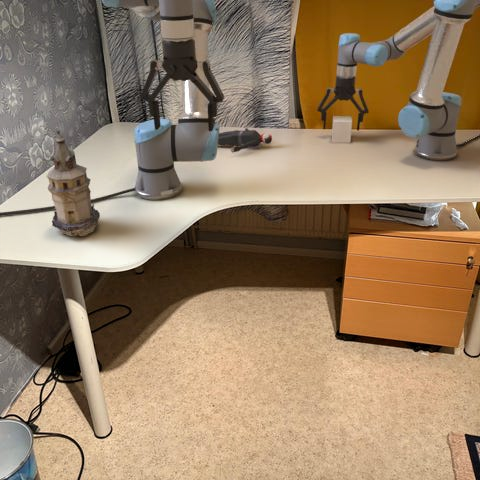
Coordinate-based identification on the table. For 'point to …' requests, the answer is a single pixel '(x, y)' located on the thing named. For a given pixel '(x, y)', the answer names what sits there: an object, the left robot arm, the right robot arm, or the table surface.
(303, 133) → the table surface
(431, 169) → the table surface
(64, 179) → the miniature building
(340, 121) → the brick
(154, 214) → the table surface
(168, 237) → the table surface
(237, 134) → the toy
